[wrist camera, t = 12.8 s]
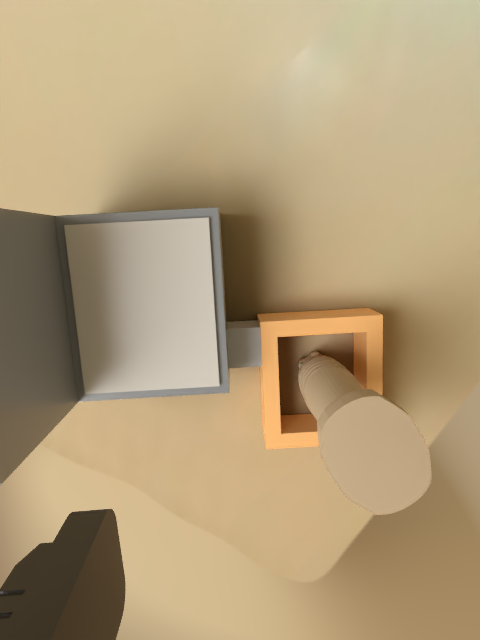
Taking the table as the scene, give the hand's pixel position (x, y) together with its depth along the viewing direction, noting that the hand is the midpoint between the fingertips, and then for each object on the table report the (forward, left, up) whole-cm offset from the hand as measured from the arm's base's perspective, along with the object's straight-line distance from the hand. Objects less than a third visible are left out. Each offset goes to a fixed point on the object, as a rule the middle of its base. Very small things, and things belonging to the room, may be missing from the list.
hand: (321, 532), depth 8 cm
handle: (+5, +5, -27) cm, 28 cm away
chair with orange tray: (+1, -2, -27) cm, 27 cm away
